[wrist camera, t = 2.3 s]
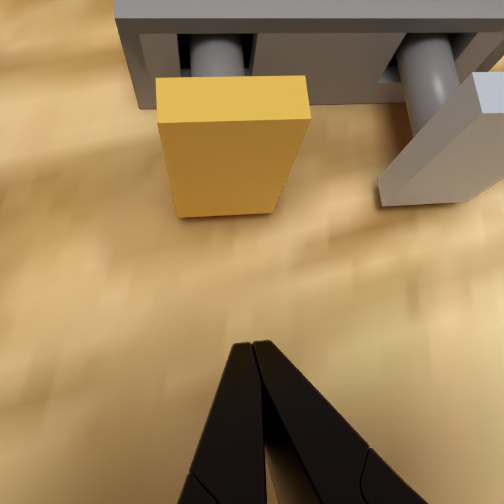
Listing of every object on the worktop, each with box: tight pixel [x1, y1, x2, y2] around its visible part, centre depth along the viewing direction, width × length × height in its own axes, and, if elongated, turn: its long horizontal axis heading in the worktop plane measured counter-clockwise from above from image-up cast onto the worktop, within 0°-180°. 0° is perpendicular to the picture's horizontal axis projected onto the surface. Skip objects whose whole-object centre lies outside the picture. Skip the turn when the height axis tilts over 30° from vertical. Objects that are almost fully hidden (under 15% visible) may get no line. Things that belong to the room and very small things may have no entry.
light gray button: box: [377, 33, 504, 206], centre depth 18 cm, size 10×4×8 cm, turn 5°
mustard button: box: [156, 33, 311, 218], centre depth 17 cm, size 10×4×8 cm, turn 5°
